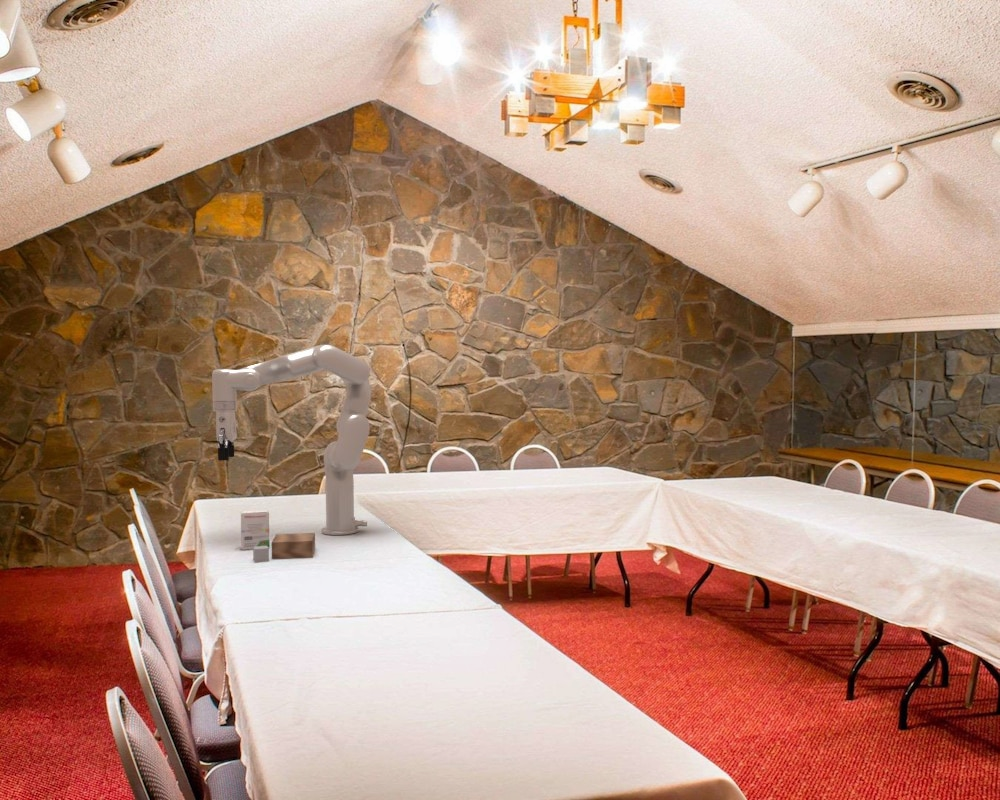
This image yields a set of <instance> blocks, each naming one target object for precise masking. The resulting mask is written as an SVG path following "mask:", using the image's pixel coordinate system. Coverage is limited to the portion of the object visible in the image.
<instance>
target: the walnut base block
mask: <svg viewBox="0 0 1000 800" xmlns="http://www.w3.org/2000/svg"><path fill="white" fill-rule="evenodd" d="M315 551H316V533H315V532H304V533H302V532H299V533H276V534H275V535H274V537H273V539H272V541H271V559H272V560H276V559H279V560H280V559H281V560H282V559H300V558H303V559H305V558H313V557H314V553H315Z"/></svg>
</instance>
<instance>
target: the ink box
mask: <svg viewBox="0 0 1000 800" xmlns="http://www.w3.org/2000/svg"><path fill="white" fill-rule="evenodd" d="M240 536H241V537H240V542H241V551H247V550H253V547H257V546H267V547H268V548H269V549H270V512H269V510H267V509H265V510H263V509H262V510H247V511H245V510H244V511H240Z"/></svg>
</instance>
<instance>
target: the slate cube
mask: <svg viewBox="0 0 1000 800" xmlns="http://www.w3.org/2000/svg"><path fill="white" fill-rule="evenodd" d="M252 554H253V559H252V561H254V563H264V562H270V547H269V548H268V547H267V546H257V547H253V549H252Z"/></svg>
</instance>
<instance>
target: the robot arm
mask: <svg viewBox="0 0 1000 800" xmlns="http://www.w3.org/2000/svg"><path fill="white" fill-rule="evenodd" d="M324 370H326V371H328V372H329V373H331V374H332V375H335V376H337V377H339V378H340V379H341V380H342V381H343V383H344V385H345V388H346V393H345V394H346V395H345V399H344V402H343V405H342V408H341V409H340V413H339V415H338V418H337V421H336V432H337V433H338V434H339V435H338V438H337V440H335V441H332V442H330V443H329V444H328V445H327V446H326V447H325V449H324V452H323V465H324V466H323V467H324V472H325V521H326V523H325V524H326V525H325V527H323V528H322V529H321V533H322V534H325V535H329V536H345V535H352V534H355V533H359V532H360V530H359V527H367V526H368V520H358V519H356V517H355V508H354V507H355V499H354V497H355V496H354V493H355V491H354V486H355V485H354V483H355V482H354V469H355V468H356V467H357V466H358V465H359V463H360V460H361V458H362V455H363V452H364V449H365V447H366V444H367V440H368V438H369V434H370V428H371V427H370V421H369V419H368V418H367V413H368V410H369V406H370V404H371V403H370V402H371V399H372V387H371V382H370V380H369V379H370V376H371V370H370V367H369V365H368V364H367V363H366V362H365V361H364V360H362V359H360V358H358V357H356V356H354V355H352V354H350V353H349V352H346V351H344V350H342V349H340V348H338V347H336V346H334V345H331V344H320V345H316V346H312V347H309V348H305V349H302V350H299V351H295V352H291V353H288V354H284V355H280V356H278V357H275V358H273V359H269V360H266V361H263V362H259V363H256V364H253V365H249V366H245V367H242V368H239V369H233V368H217V369H214V370H213V372H211V375H212V376H211V377H212V378H211V380H212V381H211V383H212V384H211V385H212V388H211V389H212V411H213V412H215V413H216V416H215V424H216V426H215V434H216V435H215V436H216V441H217V442H218V444H217V459H218V460H217V461H220V462H221V461H228V460H229V459H230V458H234V457H235V444H234V443H235V440H236V439H237V438H238V434H237V421H236V412H237V411H238V402H237V401H238V399H237V398H238V397H237V393H238V392H237V391H246V392H252V391H255V390H257V389H258V388H259V387H261V386H264V385H268V384H271V383H276V382H282V381H283V382H286V381H291V380H295V379H298V378H301V377H304V376H307V375H308V376H309V375H311V374H316V373H318V372H322V371H324Z"/></svg>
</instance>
